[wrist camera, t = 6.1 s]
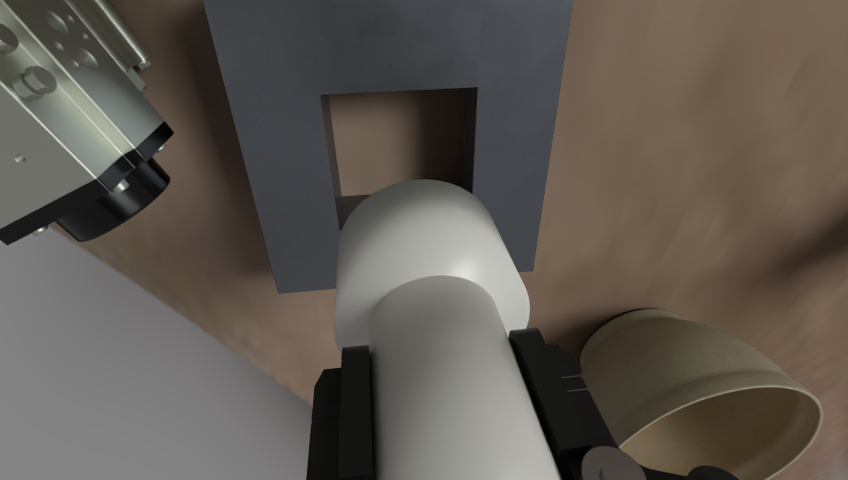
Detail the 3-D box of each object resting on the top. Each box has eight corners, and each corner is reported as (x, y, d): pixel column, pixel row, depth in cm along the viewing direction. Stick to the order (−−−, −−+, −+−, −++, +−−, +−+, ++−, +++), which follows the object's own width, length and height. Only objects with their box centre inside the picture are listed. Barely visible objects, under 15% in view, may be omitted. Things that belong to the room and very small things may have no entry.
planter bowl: (548, 418, 45) (594, 536, 36) (537, 302, 36) (596, 423, 27) (705, 381, 45) (791, 491, 36) (734, 255, 36) (860, 361, 27)
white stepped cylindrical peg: (328, 185, 15) (287, 562, 6) (502, 173, 16) (703, 500, 7) (347, 316, 18) (340, 682, 9) (490, 302, 19) (612, 635, 10)
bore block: (225, -12, 22) (201, -3, 19) (544, -21, 23) (575, -14, 20) (286, 255, 31) (278, 293, 28) (515, 237, 32) (532, 270, 29)
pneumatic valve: (150, 158, 26) (22, 293, 16) (-49, -65, 20) (-463, -68, 10) (231, 115, 25) (149, 230, 15) (51, -131, 19) (-287, -206, 9)
